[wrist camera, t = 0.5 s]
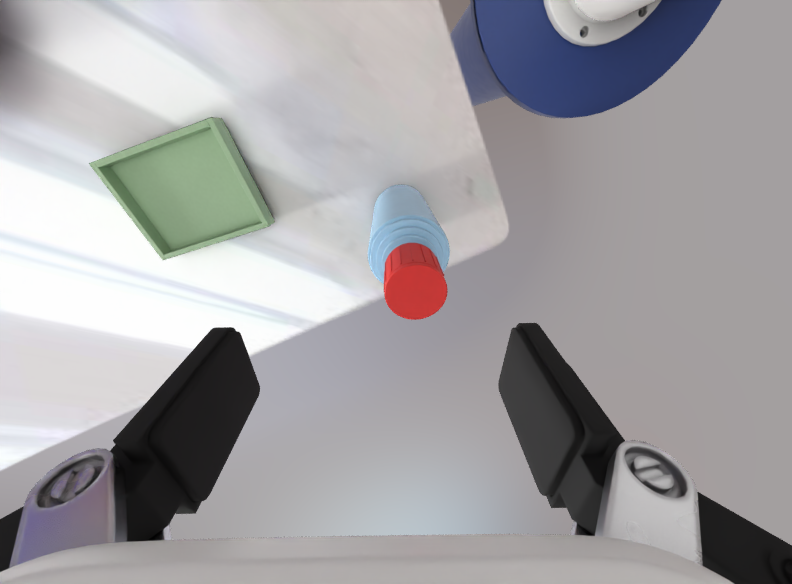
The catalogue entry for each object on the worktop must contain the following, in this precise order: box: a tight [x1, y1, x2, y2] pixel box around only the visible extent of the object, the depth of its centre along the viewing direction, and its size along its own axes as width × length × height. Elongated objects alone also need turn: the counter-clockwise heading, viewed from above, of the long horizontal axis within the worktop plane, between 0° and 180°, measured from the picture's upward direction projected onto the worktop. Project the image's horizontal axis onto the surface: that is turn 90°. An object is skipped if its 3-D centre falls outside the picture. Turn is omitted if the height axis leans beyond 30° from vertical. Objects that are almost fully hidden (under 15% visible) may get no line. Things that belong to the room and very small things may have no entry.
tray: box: [89, 117, 275, 260], centre depth 32 cm, size 14×11×2 cm
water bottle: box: [368, 185, 450, 284], centre depth 26 cm, size 6×6×20 cm
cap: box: [384, 243, 447, 320], centre depth 19 cm, size 4×4×4 cm
